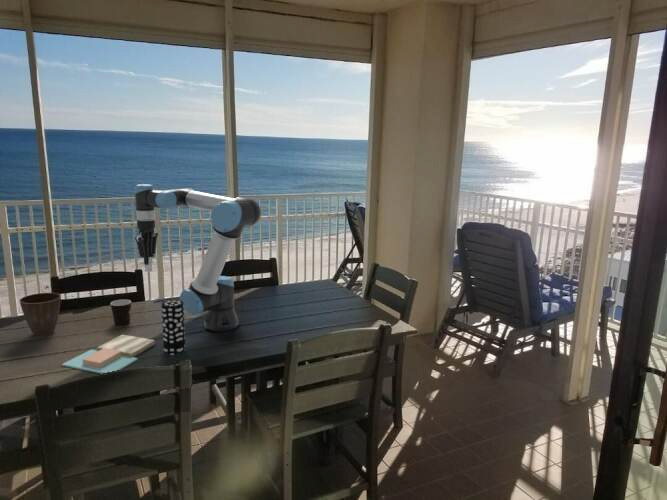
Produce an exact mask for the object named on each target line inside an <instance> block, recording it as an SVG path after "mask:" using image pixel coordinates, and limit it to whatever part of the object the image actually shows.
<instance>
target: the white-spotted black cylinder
mask: <svg viewBox="0 0 667 500" xmlns="http://www.w3.org/2000/svg"><path fill="white" fill-rule="evenodd" d="M160 306H161V322H162V323H161V325H162V327H161V328H162V345H163V353H164V354H166V355H169V356H174V355H176V356H177V355H181V354H183V353H185V351H186V331H185V330H186V329H185V327H186V325H185V310H184V302H183V301H181V300H180V299H169V300H164V301H162V302H161V305H160Z"/></svg>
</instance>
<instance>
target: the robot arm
mask: <svg viewBox="0 0 667 500" xmlns="http://www.w3.org/2000/svg"><path fill="white" fill-rule="evenodd" d="M134 196H135V197H134V198H135V199H134V200H135V211H136V219H137V221H136V227H137V229H138V235H137V236H135V237H134V239H135V242H136V244H137V249H138V254H139V257H140V258H143V265H144V271H145V272H149V273H151V272H153V257H155V255H156V250H157V242H158V241H157V239H158V235H159V233H157V232H155V230H154V229H155V228H156V220H155V219H156V214H155V213H156V212H155V209H156V208H157V209H158V208H159V209H162V210H168V209H173V208H174V207H181V206H182V207H183V206H184V207H189V208H193V209H199V210H201V211H207V212H211V214H210V220H211V224H212V226H211V228H212V230H213V234H212V238H211V239H210V243H209V245H208V248H207V251H206V253H205V256H204V257H203V260H202V263H201V266H200V269H199V271H198V274H197V276H196V277H193V278H192V279H191V282H190V284H189V286H188V287H187V288H185V289H183V291H181V293H180V294H179V300H181V301H183V302H184V312H186V313H187V314H189V315H191V316H197V315H201V314H202V313H203V314H204V313H205V312H207V313H206V316H205V319H204V325H203V326H204V328H205V329H207V330H209V331H213V332H225V331H231V330H233V329H235V328H237V327H238V326H239V318H238V316H237V313H236V311H235V310H236V309H235V291H234V290H235V284H234V280H233V278H232V277H230V276H226V275H221V274H222V271H223V269H224V266H225V264H226V263H227V259H228V257H229V255H230V252H231V250H232V247H233V244H234V242H235V240H238V239H240V238H241V235H242V233H243V232H244V229H245V228H248V227H252V226H254V225H255V224H257V223H258V221H260V218H261V217H262V216H261V215H262V209H261V206H260V204H259V203H258V202H257V201H256V200H254V199H252V198H247V197H240V196H238V197H236V198H234V197H227V196H222V195H219V194H211V193H206V192H202V191H197V190H196V191H195V190H194V189H193V188H189V187H188V188H187V187H184V188H177V189H176V188H175V189H164V190H160V189H159V190H158V189H157V190H156V189H154V186H153V185H152V184H148V183H147V184H145V183H143V184H142V183H141V184H140V183H139V184H136V185H135V187H134Z"/></svg>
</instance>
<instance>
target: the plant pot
mask: <svg viewBox="0 0 667 500" xmlns="http://www.w3.org/2000/svg"><path fill="white" fill-rule="evenodd" d="M61 297H62V296H61V294H60V293H57V292H42V293H41V292H40V293H33V294H28V295H26V296H23V297H21V298H20V299H19V304H20V309H21V311H22V314H23V317H24V319H25V322H26V323H27V325H28V327H29V329H30V331H31V332H32V334H33V335H34V336H35V337H46V336H50V335H53V334H54V333H55V329H56V327H57V323H58V320H59V315H60V308H61Z"/></svg>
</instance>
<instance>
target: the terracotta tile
mask: <svg viewBox="0 0 667 500" xmlns="http://www.w3.org/2000/svg"><path fill="white" fill-rule="evenodd" d="M121 356H122V351H119V350H113V349H108V348H104V349H102V350H100V351H98V352H96V353H94V354H92V355H90V356H88V357H86V358H84V359H82V360H83V364H84V365H89V366H93V367H98V368H101V367H103V366H105V365H106V364H108V363H110V362H112V361H114V360H115V359H117V358H119V357H121Z"/></svg>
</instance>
